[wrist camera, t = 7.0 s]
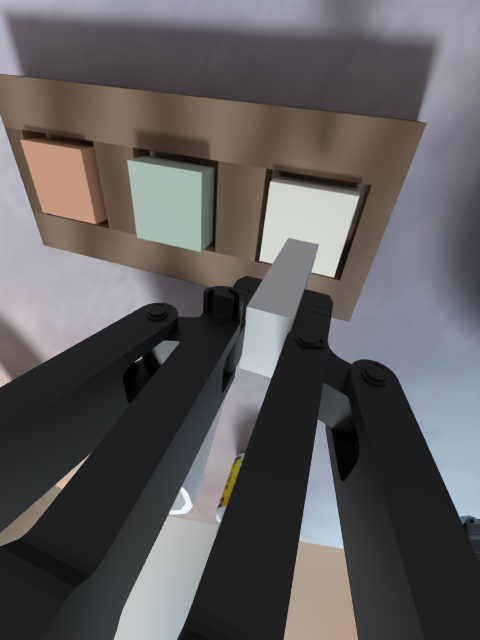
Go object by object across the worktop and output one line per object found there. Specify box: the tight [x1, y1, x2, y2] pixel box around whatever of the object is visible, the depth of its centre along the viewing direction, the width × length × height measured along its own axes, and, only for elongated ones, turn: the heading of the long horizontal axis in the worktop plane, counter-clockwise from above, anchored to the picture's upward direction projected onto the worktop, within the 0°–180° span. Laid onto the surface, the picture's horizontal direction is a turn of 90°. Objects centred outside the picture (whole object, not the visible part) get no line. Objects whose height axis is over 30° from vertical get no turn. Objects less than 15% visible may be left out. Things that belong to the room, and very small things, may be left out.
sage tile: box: [127, 156, 214, 252], centre depth 20 cm, size 5×5×2 cm
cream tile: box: [259, 175, 359, 277], centre depth 19 cm, size 5×5×2 cm
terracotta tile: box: [20, 137, 107, 224], centre depth 22 cm, size 5×5×2 cm
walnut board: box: [0, 74, 427, 322], centre depth 22 cm, size 27×12×3 cm, turn 85°
